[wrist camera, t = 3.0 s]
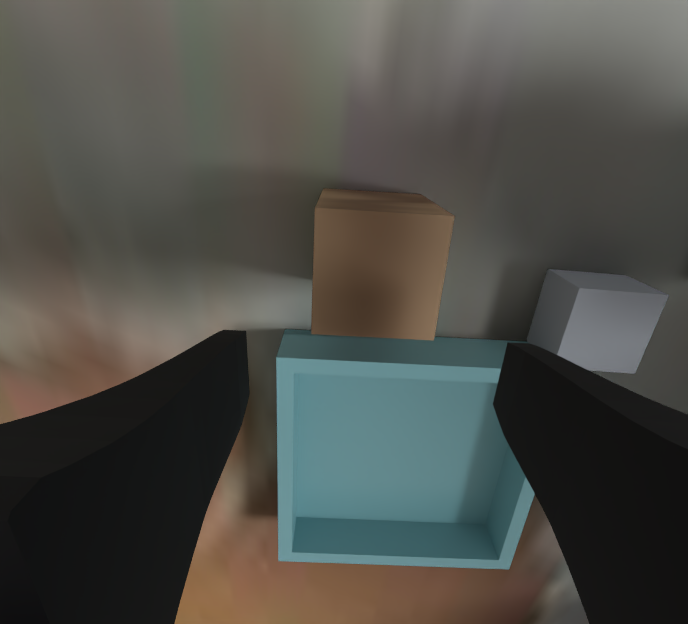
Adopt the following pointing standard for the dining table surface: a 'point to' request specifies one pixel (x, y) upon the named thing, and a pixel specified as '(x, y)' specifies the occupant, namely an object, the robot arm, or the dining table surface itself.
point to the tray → (395, 453)
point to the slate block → (596, 319)
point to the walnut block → (378, 264)
